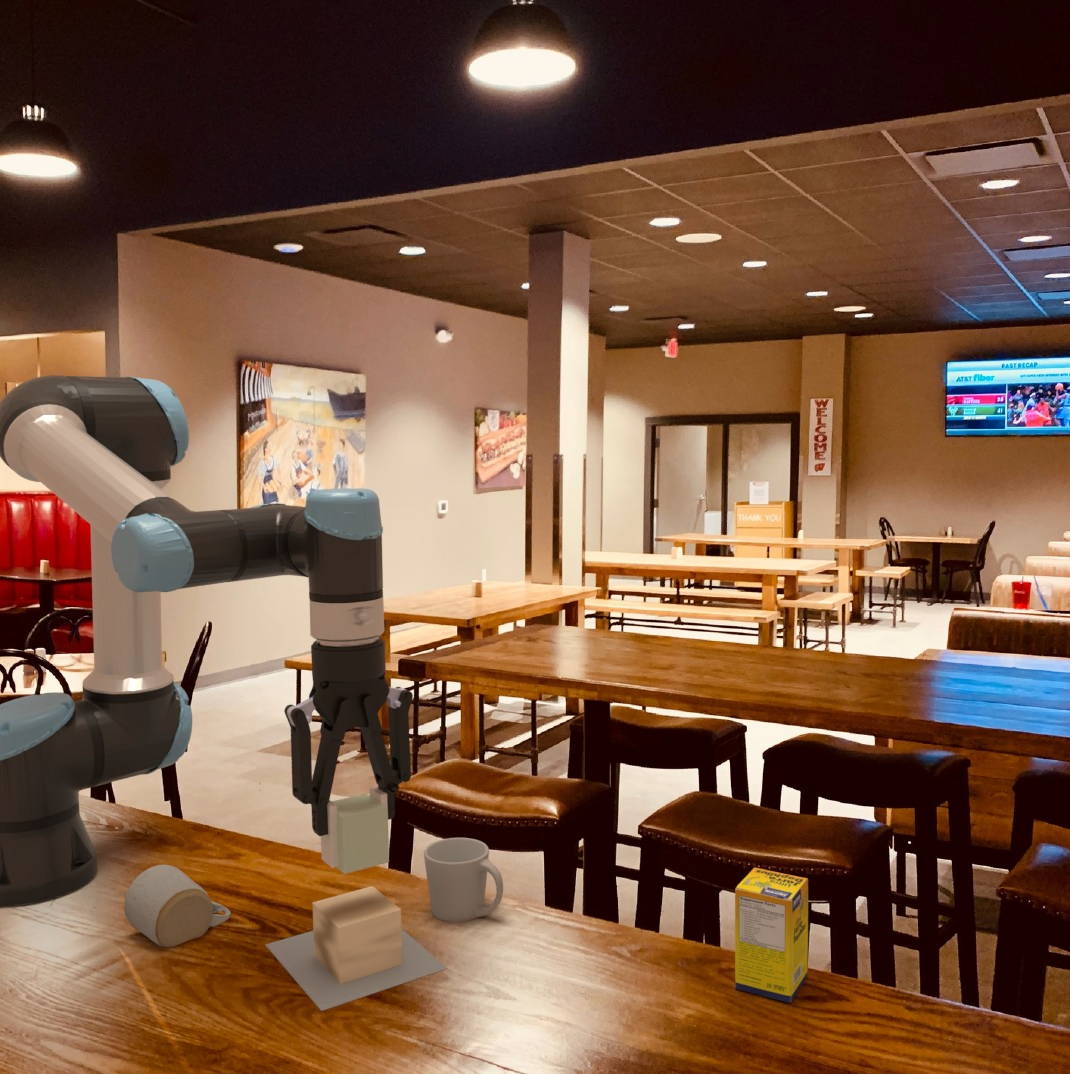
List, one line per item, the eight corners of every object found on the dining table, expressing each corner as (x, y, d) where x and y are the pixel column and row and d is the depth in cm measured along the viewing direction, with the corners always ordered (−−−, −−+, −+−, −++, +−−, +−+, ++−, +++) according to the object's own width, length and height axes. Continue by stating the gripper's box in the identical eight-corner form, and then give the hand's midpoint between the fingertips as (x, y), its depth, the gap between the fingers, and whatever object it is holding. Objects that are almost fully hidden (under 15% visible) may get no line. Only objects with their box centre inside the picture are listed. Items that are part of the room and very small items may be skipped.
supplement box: (808, 978, 109) (809, 877, 108) (791, 1005, 104) (792, 900, 103) (753, 963, 112) (754, 865, 111) (733, 989, 107) (734, 887, 106)
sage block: (325, 858, 110) (322, 803, 110) (368, 847, 113) (366, 793, 113) (344, 874, 106) (341, 817, 106) (388, 862, 109) (386, 806, 108)
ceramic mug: (157, 964, 113) (155, 896, 113) (123, 939, 119) (121, 874, 118) (244, 931, 121) (243, 867, 120) (209, 909, 127) (207, 848, 126)
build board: (265, 955, 115) (265, 944, 115) (381, 920, 123) (381, 910, 123) (321, 1022, 102) (321, 1010, 102) (447, 979, 109) (447, 968, 109)
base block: (314, 956, 112) (312, 902, 112) (374, 937, 116) (372, 886, 115) (340, 984, 106) (338, 927, 106) (402, 964, 110) (401, 909, 110)
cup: (450, 899, 128) (448, 832, 127) (519, 918, 123) (518, 848, 122) (412, 925, 121) (410, 855, 121) (483, 946, 116) (482, 872, 115)
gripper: (276, 656, 100) (285, 890, 102) (442, 633, 110) (447, 847, 112) (250, 643, 106) (259, 865, 108) (409, 623, 116) (415, 826, 118)
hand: (355, 855), depth 110 cm, fingers closed on sage block, 5 cm apart
